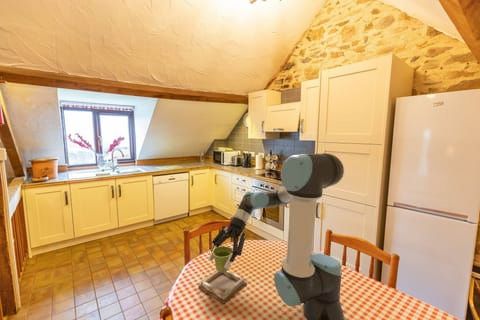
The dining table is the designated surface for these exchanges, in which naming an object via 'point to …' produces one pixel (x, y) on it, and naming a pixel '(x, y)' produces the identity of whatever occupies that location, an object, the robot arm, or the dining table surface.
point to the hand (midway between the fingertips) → (217, 264)
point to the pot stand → (222, 285)
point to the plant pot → (221, 257)
